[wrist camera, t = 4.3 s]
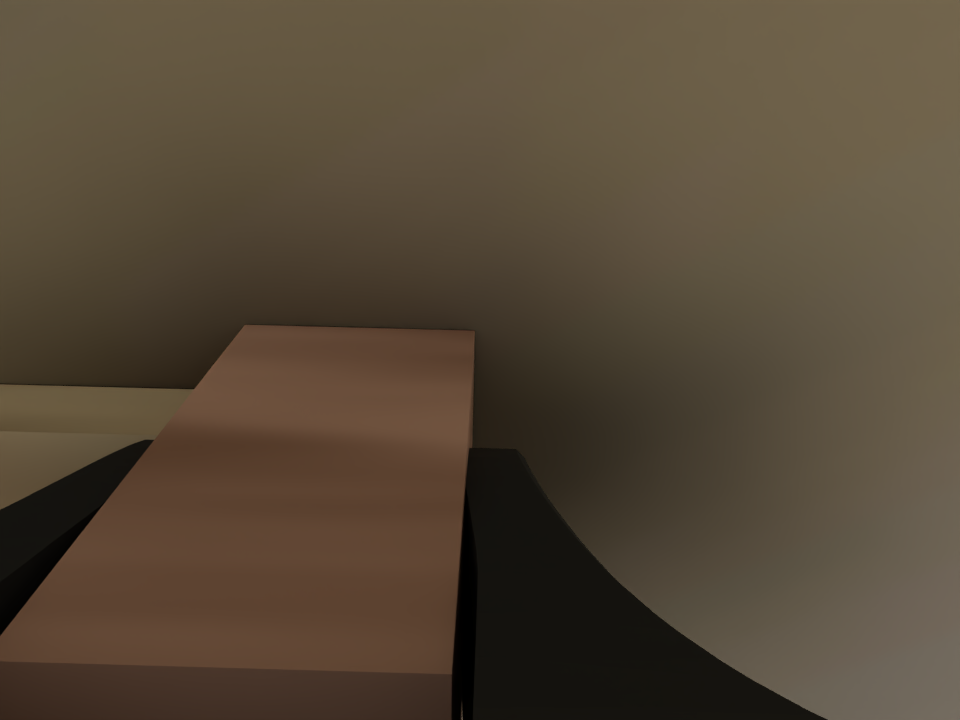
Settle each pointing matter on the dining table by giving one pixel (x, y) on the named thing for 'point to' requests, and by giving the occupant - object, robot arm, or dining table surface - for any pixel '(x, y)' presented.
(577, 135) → the dining table surface
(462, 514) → the push blade
